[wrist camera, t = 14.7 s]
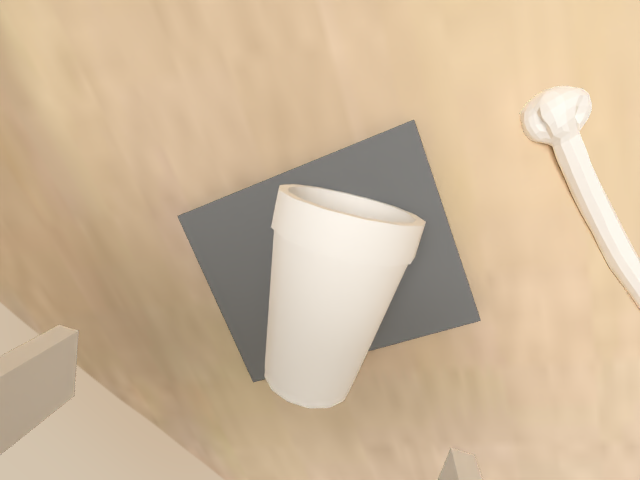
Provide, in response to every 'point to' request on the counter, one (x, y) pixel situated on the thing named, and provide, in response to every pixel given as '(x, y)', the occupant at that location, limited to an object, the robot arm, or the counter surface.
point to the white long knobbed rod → (582, 174)
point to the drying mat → (350, 177)
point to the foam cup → (330, 288)
